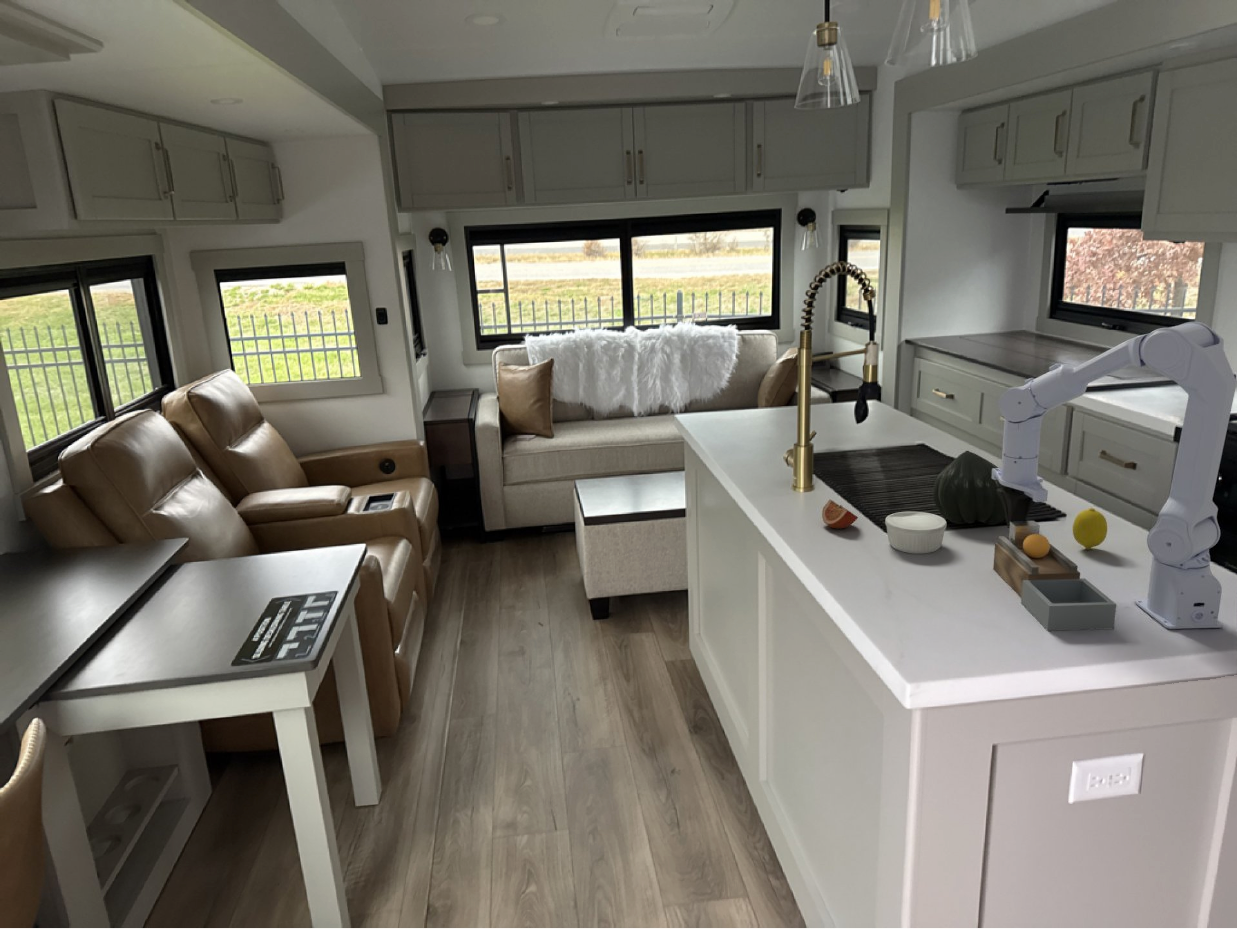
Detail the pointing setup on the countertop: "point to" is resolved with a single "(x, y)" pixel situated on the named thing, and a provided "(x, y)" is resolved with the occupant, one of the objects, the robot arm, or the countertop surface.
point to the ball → (1036, 545)
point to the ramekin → (915, 531)
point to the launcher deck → (1030, 565)
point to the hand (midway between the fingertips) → (1015, 528)
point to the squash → (969, 491)
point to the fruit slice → (837, 515)
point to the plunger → (1022, 531)
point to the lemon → (1090, 528)
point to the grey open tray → (1068, 604)
